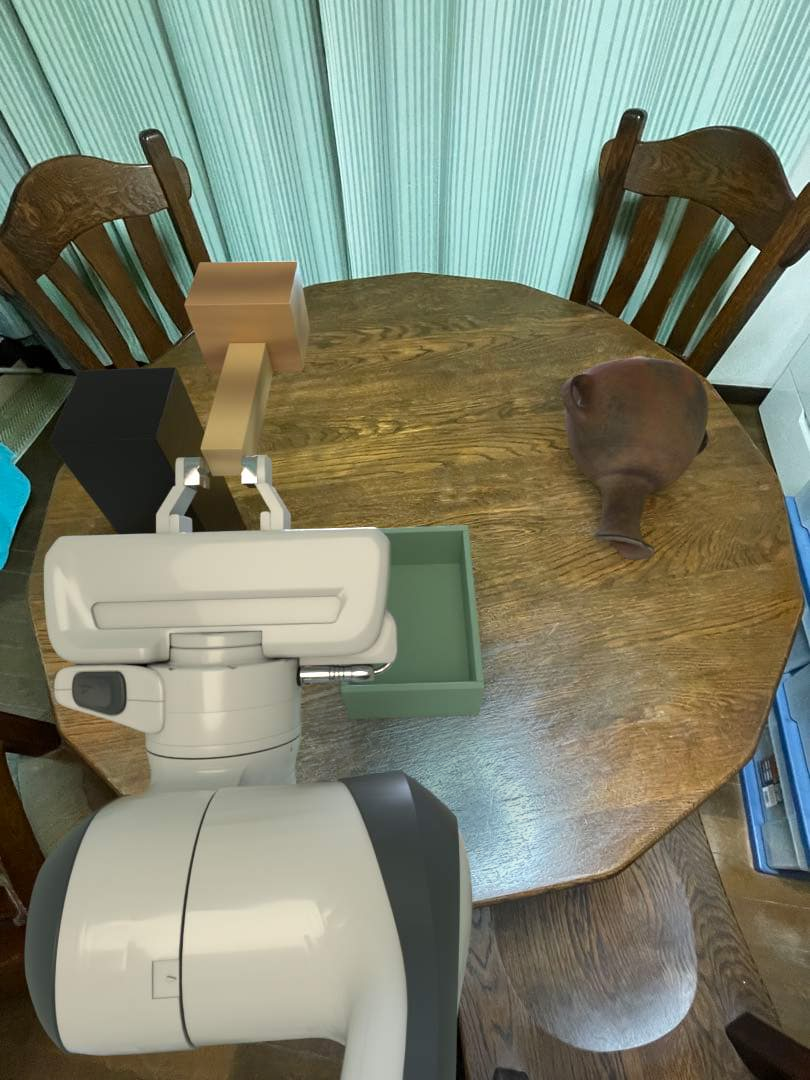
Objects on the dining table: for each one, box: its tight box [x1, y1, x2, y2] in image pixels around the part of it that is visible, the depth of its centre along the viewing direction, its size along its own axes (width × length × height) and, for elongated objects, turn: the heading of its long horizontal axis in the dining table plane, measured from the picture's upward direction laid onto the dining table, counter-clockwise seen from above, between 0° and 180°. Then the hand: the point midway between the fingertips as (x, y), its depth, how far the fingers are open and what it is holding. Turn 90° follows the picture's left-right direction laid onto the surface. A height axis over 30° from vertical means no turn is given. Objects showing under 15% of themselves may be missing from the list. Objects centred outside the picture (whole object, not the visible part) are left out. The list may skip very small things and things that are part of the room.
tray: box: [340, 524, 486, 720], centre depth 74 cm, size 22×16×10 cm
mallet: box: [183, 260, 311, 477], centre depth 40 cm, size 15×7×6 cm, turn 179°
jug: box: [561, 355, 709, 561], centre depth 83 cm, size 20×20×30 cm
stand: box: [48, 366, 248, 535], centre depth 67 cm, size 9×9×36 cm
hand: (224, 457), depth 36 cm, fingers closed on mallet, 2 cm apart
